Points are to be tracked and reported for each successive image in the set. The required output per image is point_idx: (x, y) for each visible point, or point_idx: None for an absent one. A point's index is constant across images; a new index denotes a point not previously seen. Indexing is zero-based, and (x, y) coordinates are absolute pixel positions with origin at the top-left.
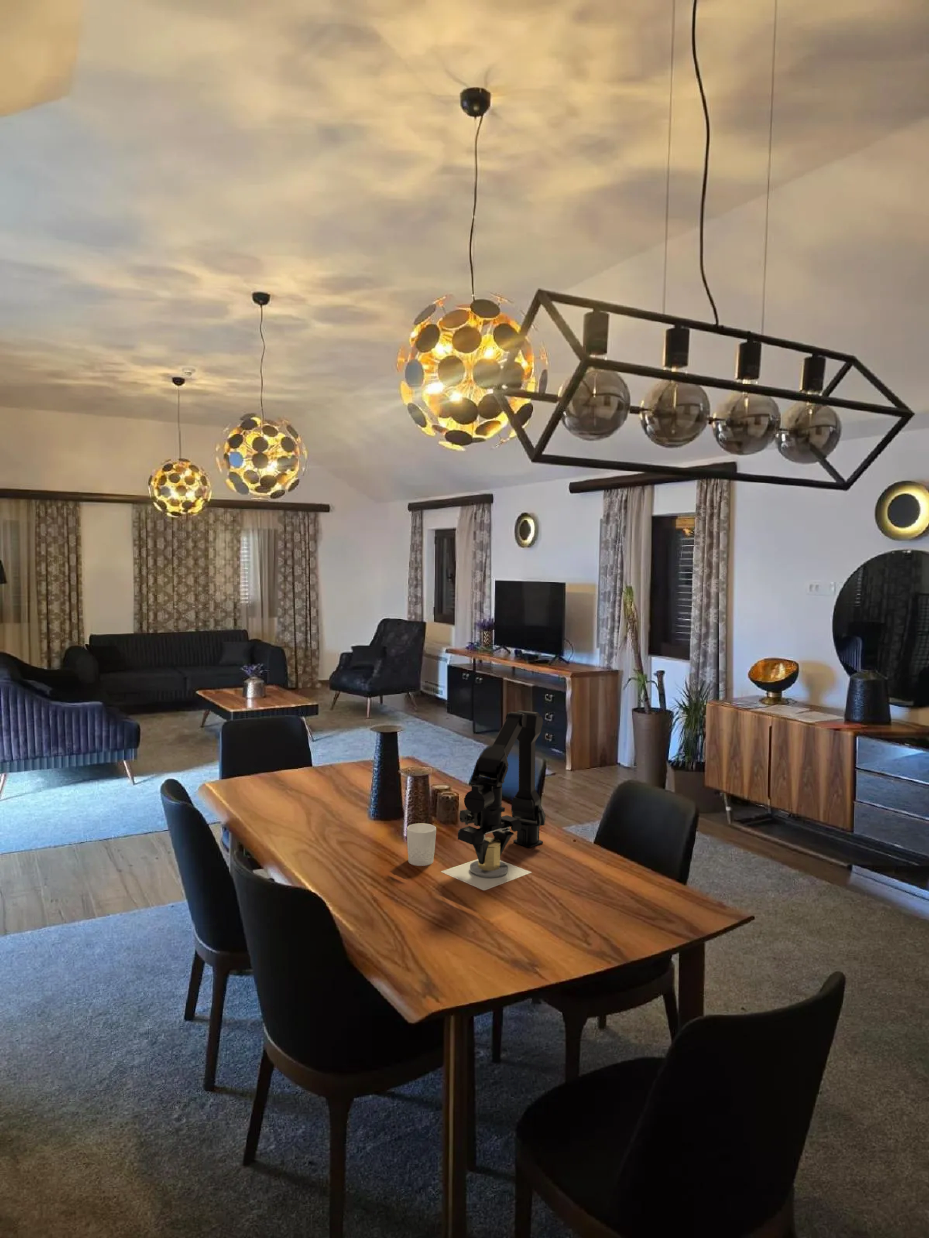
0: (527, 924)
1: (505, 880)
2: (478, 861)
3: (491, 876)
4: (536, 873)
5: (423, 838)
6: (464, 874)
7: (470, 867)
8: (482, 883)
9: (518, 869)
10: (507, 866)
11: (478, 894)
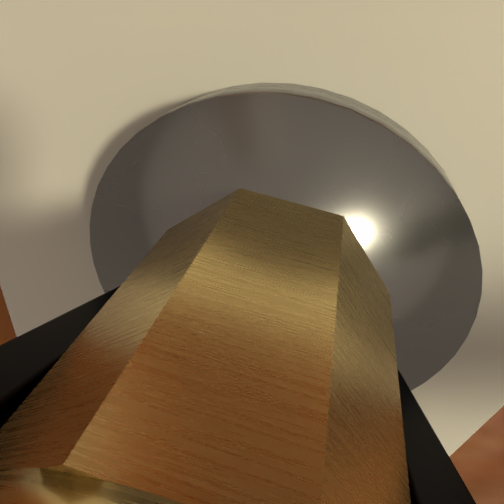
0: None
1: None
2: (136, 267)
3: None
4: (469, 473)
5: None
6: (55, 128)
7: (115, 157)
8: (67, 309)
9: (437, 421)
10: None
11: (2, 313)
